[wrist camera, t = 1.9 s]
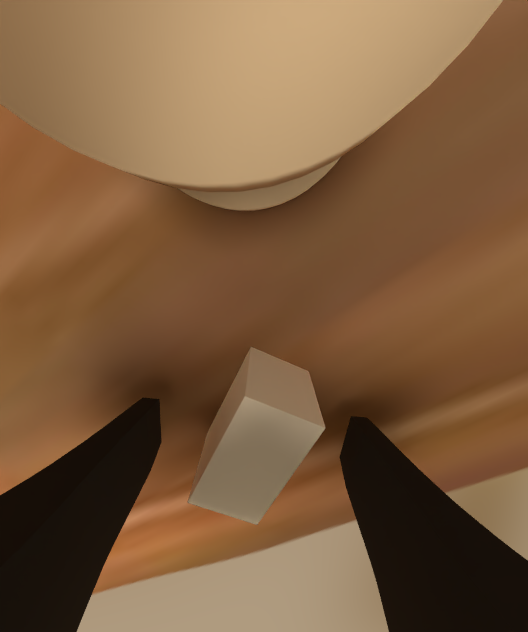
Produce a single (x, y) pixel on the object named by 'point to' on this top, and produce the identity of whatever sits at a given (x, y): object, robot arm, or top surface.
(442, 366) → the top surface
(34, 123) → the bobbin
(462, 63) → the top surface
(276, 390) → the rectangular block
